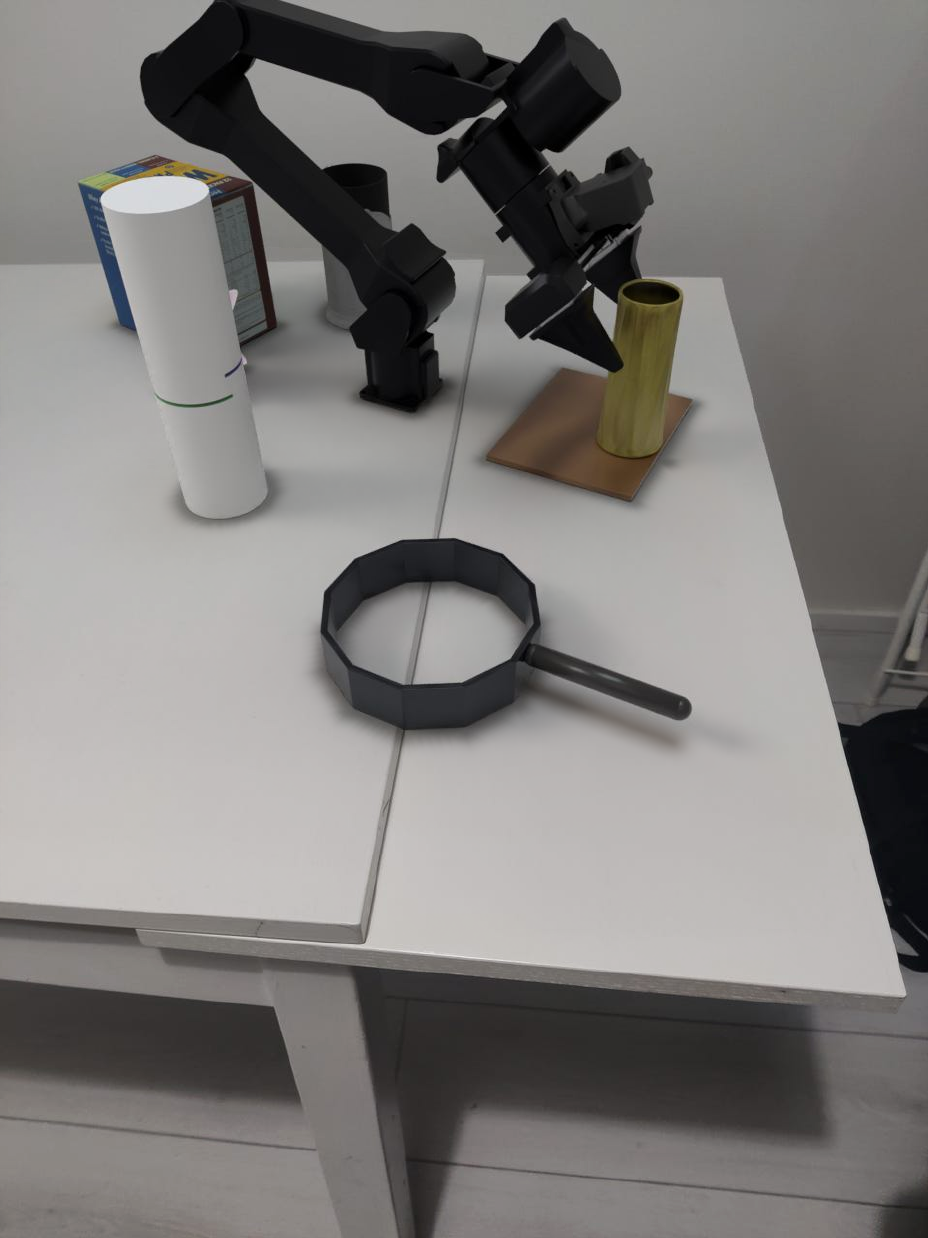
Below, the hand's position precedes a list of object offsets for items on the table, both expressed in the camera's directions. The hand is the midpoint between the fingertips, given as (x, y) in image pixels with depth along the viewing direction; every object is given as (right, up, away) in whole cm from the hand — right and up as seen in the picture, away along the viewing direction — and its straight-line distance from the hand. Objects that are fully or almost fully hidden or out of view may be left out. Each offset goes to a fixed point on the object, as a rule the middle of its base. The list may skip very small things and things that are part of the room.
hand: (635, 345), depth 75 cm
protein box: (-45, +10, +25) cm, 52 cm away
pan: (-12, -27, -13) cm, 33 cm away
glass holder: (-27, +14, +29) cm, 42 cm away
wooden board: (-2, -5, +9) cm, 11 cm away
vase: (+1, -7, +7) cm, 10 cm away
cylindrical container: (-36, -13, +2) cm, 38 cm away
